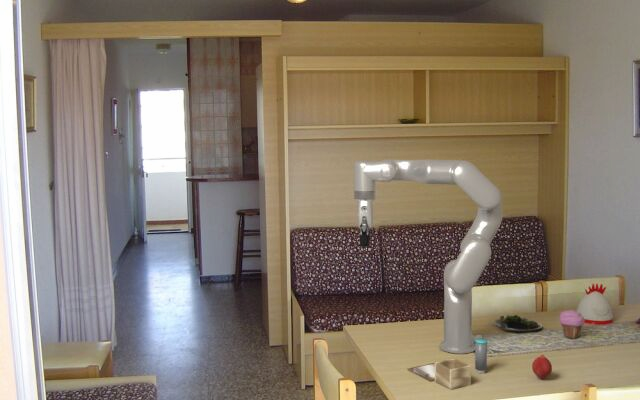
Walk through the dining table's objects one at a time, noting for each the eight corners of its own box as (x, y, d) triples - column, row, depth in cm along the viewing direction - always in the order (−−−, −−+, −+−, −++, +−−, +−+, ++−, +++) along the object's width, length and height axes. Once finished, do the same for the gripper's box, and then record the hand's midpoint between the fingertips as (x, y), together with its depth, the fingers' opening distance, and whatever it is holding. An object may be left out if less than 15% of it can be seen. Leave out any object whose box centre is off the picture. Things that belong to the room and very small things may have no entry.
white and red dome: (618, 324, 262) (619, 287, 261) (583, 325, 263) (584, 287, 261) (604, 315, 276) (605, 279, 275) (570, 315, 276) (571, 279, 275)
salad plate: (482, 321, 270) (482, 310, 269) (522, 318, 273) (522, 307, 273) (506, 335, 251) (506, 323, 250) (548, 332, 255) (548, 320, 254)
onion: (528, 376, 208) (529, 351, 207) (546, 375, 209) (547, 350, 208) (536, 382, 203) (537, 357, 202) (554, 382, 203) (555, 356, 202)
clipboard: (446, 361, 223) (446, 357, 222) (470, 372, 212) (470, 368, 212) (407, 369, 215) (407, 366, 215) (430, 381, 204) (430, 377, 204)
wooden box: (454, 377, 208) (454, 358, 208) (470, 385, 201) (471, 365, 201) (434, 381, 204) (434, 362, 204) (450, 390, 198) (451, 370, 197)
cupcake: (576, 342, 241) (577, 315, 240) (554, 336, 248) (554, 310, 247) (588, 336, 247) (589, 310, 246) (566, 331, 254) (567, 306, 253)
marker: (481, 369, 215) (481, 337, 214) (489, 372, 211) (489, 341, 210) (472, 371, 213) (472, 339, 212) (480, 374, 210) (480, 342, 209)
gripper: (374, 198, 225) (375, 248, 226) (375, 193, 242) (375, 240, 243) (352, 198, 225) (353, 248, 227) (355, 193, 243) (355, 240, 244)
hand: (364, 244), depth 235 cm, fingers open, 9 cm apart
